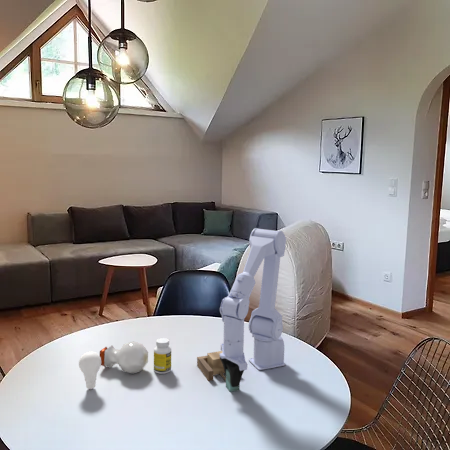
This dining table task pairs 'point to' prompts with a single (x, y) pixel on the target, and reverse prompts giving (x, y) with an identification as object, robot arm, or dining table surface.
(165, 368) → the supplement bottle
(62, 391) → the dining table surface
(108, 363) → the potion bottle
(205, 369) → the wooden u-shaped bracket
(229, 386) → the wooden blocks on rod
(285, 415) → the dining table surface
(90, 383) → the lightbulb
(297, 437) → the dining table surface
